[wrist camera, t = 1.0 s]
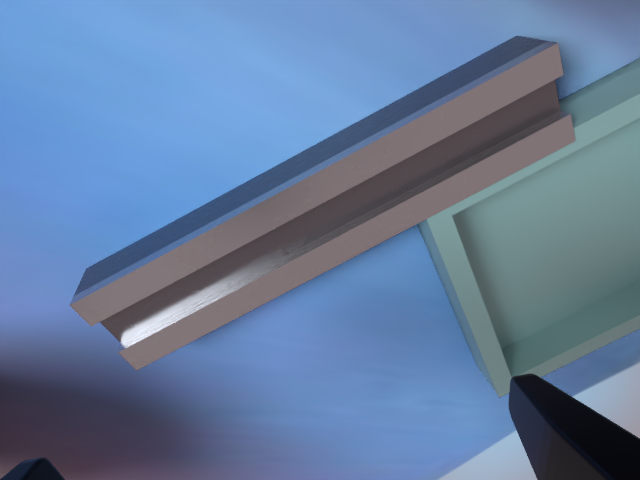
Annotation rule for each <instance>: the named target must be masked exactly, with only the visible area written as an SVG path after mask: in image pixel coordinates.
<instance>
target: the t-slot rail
mask: <svg viewBox="0 0 640 480" xmlns="http://www.w3.org/2000/svg"><path fill="white" fill-rule="evenodd" d="M562 75H564V74H563V68H562V62H561V57H560V51H559V45H558V43H556V42H550V41H544V40H538V39H532V38H526V37H521V36H516V37H514V38H512V39H510V40H508V41H506V42H504V43H503V44H501V45H499V46H497V47H495V48H493V49H492V50H490V51H488V52H486V53H484V54H482V55H480V56H479V57H477V58H475V59H473V60H471V61H469V62H468V63H466V64H464V65H462V66H460V67H458V68H456V69H455V70H453V71H451V72H449V73H447V74H445V75H443V76H442V77H440V78H438V79H436V80H434V81H432V82H431V83H429V84H427V85H425V86H423V87H421V88H419V89H418V90H416V91H414V92H412V93H410V94H408V95H407V96H405V97H403V98H401V99H399V100H397V101H395V102H394V103H392V104H390V105H388V106H386V107H384V108H383V109H381V110H379V111H377V112H375V113H373V114H371V115H370V116H368V117H366V118H364V119H362V120H360V121H359V122H357V123H355V124H353V125H351V126H349V127H347V128H346V129H344V130H342V131H340V132H338V133H336V134H334V135H333V136H331V137H329V138H327V139H325V140H323V141H322V142H320V143H318V144H316V145H314V146H312V147H310V148H309V149H307V150H305V151H303V152H301V153H299V154H298V155H296V156H294V157H292V158H290V159H288V160H286V161H285V162H283V163H281V164H279V165H277V166H275V167H274V168H272V169H270V170H268V171H266V172H264V173H262V174H261V175H259V176H257V177H255V178H253V179H251V180H250V181H248V182H246V183H244V184H242V185H240V186H238V187H237V188H235V189H233V190H231V191H229V192H227V193H226V194H224V195H222V196H220V197H218V198H216V199H214V200H213V201H211V202H209V203H207V204H205V205H203V206H201V207H200V208H198V209H196V210H194V211H192V212H190V213H189V214H187V215H185V216H183V217H181V218H179V219H177V220H176V221H174V222H172V223H170V224H168V225H166V226H165V227H163V228H161V229H159V230H157V231H155V232H153V233H152V234H150V235H148V236H146V237H144V238H142V239H141V240H139V241H137V242H135V243H133V244H131V245H129V246H128V247H126V248H124V249H122V250H120V251H118V252H117V253H115V254H113V255H111V256H109V257H107V258H105V259H104V260H102V261H100V262H98V263H96V264H94V265H93V266H91V267H89V268H87V269H86V270H85V273H84V275H83V277H82V279H81V281H80V284H79V286H78V288H77V290H76V292H75V294H74V297H73V299H72V301H71V303H70V306H71V307H72V308H73V309H74V310H75V311H76V312H77V313H78V314H79V315H80V316H81V317H82V318H83V319H84V320H85V321H86V322H87V323H88V324H89V325H90V326H93V325H95V324H97V323H99V322H100V323H101V324H102V325H103V326H104V327H105V328H106V329H107V330H108V331H109V332H110V333H111V334H112V335H113V336H114V337H115V338H116V339H117V340H118V341H119V342H120V347H119V351H118V353H119V354H120V355H121V356H122V357H123V358H124V359H125V360H126V361H127V362H128V363H129V364H130V365H131V366H132V367H134V368H135V369H136V370H139V369H140V368H142V367H144V366H146V365H148V364H150V363H152V362H154V361H156V360H158V359H160V358H162V357H163V356H165V355H167V354H169V353H171V352H173V351H175V350H177V349H179V348H181V347H183V346H184V345H186V344H188V343H190V342H192V341H194V340H196V339H198V338H200V337H202V336H204V335H206V334H207V333H209V332H211V331H213V330H215V329H217V328H219V327H221V326H223V325H225V324H227V323H228V322H230V321H232V320H234V319H236V318H238V317H240V316H242V315H244V314H246V313H248V312H250V311H251V310H253V309H255V308H257V307H259V306H261V305H263V304H265V303H267V302H269V301H271V300H272V299H274V298H276V297H278V296H280V295H282V294H284V293H286V292H288V291H290V290H292V289H294V288H295V287H297V286H299V285H301V284H303V283H305V282H307V281H309V280H311V279H313V278H315V277H316V276H318V275H320V274H322V273H324V272H326V271H328V270H330V269H332V268H334V267H336V266H338V265H339V264H341V263H343V262H345V261H347V260H349V259H351V258H353V257H355V256H357V255H359V254H360V253H362V252H364V251H366V250H368V249H370V248H372V247H374V246H376V245H378V244H380V243H382V242H383V241H385V240H387V239H389V238H391V237H393V236H395V235H397V234H399V233H401V232H403V231H404V230H406V229H408V228H410V227H412V226H414V225H416V224H418V223H420V222H422V221H424V220H426V219H427V218H429V217H431V216H433V215H435V214H437V213H439V212H441V211H443V210H445V209H447V208H448V207H450V206H452V205H454V204H456V203H458V202H460V201H462V200H464V199H466V198H468V197H470V196H471V195H473V194H475V193H477V192H479V191H481V190H483V189H485V188H487V187H489V186H491V185H492V184H494V183H496V182H498V181H500V180H502V179H504V178H506V177H508V176H510V175H512V174H514V173H515V172H517V171H519V170H521V169H523V168H525V167H527V166H529V165H531V164H533V163H535V162H536V161H538V160H540V159H542V158H544V157H546V156H548V155H550V154H552V153H554V152H556V151H558V150H559V149H561V148H563V147H565V146H567V145H569V144H571V143H573V142H575V135H574V130H573V124H572V118H571V114H569V113H567V112H564V111H561V109H560V104H559V99H558V94H557V88H556V83H555V79H557V78H559V77H561V76H562Z"/></svg>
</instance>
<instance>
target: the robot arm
mask: <svg viewBox="0 0 640 480" xmlns="http://www.w3.org/2000/svg"><path fill="white" fill-rule="evenodd" d="M509 410H510V414H511V418H512V420H513V423H514V425H515V427H516V430H517V432H518V434H519V437H520V439H521V441H522V444H523V446H524V448H525V451H526V453H527V456H528V458H529V460H530V463H531V465H532V468H533V470H534V472H535V474H536V477H537V479H538V480H640V438H638V437H636V436H635V435H633V434H632V433H630V432H628V431H627V430H625V429H623V428H622V427H620V426H619V425H617V424H615V423H613V422H612V421H610V420H609V419H607V418H606V417H604V416H602V415H601V414H599V413H597V412H596V411H594V410H592V409H591V408H589V407H588V406H586V405H584V404H583V403H581V402H579V401H578V400H576V399H575V398H573V397H571V396H570V395H568V394H566V393H565V392H563V391H562V390H560V389H558V388H557V387H555V386H553V385H552V384H550V383H549V382H547V381H545V380H544V379H542V378H540V377H539V376H537V375H535V374H533V373H528V374H523V375H517V376H513V377H512V378H511V381H510V392H509ZM0 480H65V479H64V478H63V476H62V475H61V474H60V473H59V472H58V470H57V469H56V468H55V467H54V466H53V465H52V463H51V462H50V461H49V460H48V459H47V458H44V457H42V458H35V459H29V460H25V461H23V462H21V463H20V464H18V465H17V466H16V467H15V468H14V469H12V470H11V471H10V472H9V473H7V474H6V475H5V476H4V477H3V478H1V479H0Z"/></svg>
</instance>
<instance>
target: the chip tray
mask: <svg viewBox="0 0 640 480" xmlns="http://www.w3.org/2000/svg"><path fill="white" fill-rule="evenodd" d="M559 104H560V109H561V111H564V112H567V113H569V114H571V118H572V124H573V130H574V135H575V142H573V143H571V144H569V145H567V146H565V147H563V148H561V149H559V150H558V151H556V152H554V153H552V154H550V155H548V156H546V157H544V158H542V159H540V160H538V161H536V162H535V163H533V164H531V165H529V166H527V167H525V168H523V169H521V170H519V171H517V172H515V173H514V174H512V175H510V176H508V177H506V178H504V179H502V180H500V181H498V182H496V183H494V184H492V185H491V186H489V187H487V188H485V189H483V190H481V191H479V192H477V193H475V194H473V195H471V196H470V197H468V198H466V199H464V200H462V201H460V202H458V203H456V204H454V205H452V206H450V207H448V208H447V209H445V210H443V211H441V212H439V213H437V214H435V215H433V216H431V217H429V218H427V219H426V220H424V221H422V222H420V223H418V224H417V225H418V227H419V230H420V232H421V234H422V237H423V239H424V241H425V244H426V246H427V249H428V251H429V253H430V256H431V258H432V260H433V263H434V265H435V267H436V270H437V272H438V275H439V277H440V279H441V282H442V284H443V286H444V289H445V291H446V294H447V296H448V298H449V301H450V303H451V305H452V308H453V310H454V312H455V315H456V317H457V320H458V322H459V324H460V327H461V329H462V331H463V334H464V336H465V339H466V341H467V343H468V346H469V348H470V350H471V353H472V355H473V357H474V360H475V362H476V365H477V366H478V368H479V369H480V371H481V372H482V374H483V375H484V376H485V378H486V379H487V381H488V382H489V384H490V385H491V387H492V388H493V390H494V391H495V393H496V394H497V395H498V397H499V398H500V397H502V396H504V395H506V394H508V393H509V392H510V381H511V378H512V377H513V376H517V375H523V374H528V373H533V374H535V375H537V376H539V377H542V376H544V375H547V374H549V373H551V372H553V371H555V370H557V369H559V368H561V367H563V366H565V365H567V364H569V363H571V362H573V361H575V360H577V359H579V358H581V357H583V356H585V355H587V354H589V353H591V352H593V351H595V350H597V349H599V348H601V347H603V346H605V345H607V344H609V343H611V342H613V341H615V340H618V339H620V338H622V337H624V336H626V335H628V334H630V333H632V332H634V331H636V330H638V329H640V58H639V59H637V60H635V61H633V62H631V63H630V64H628V65H626V66H624V67H622V68H620V69H618V70H616V71H614V72H613V73H611V74H609V75H607V76H605V77H603V78H601V79H599V80H597V81H596V82H594V83H592V84H590V85H588V86H586V87H584V88H582V89H580V90H579V91H577V92H575V93H573V94H571V95H569V96H567V97H565V98H563V99H562V100H560V101H559Z"/></svg>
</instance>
